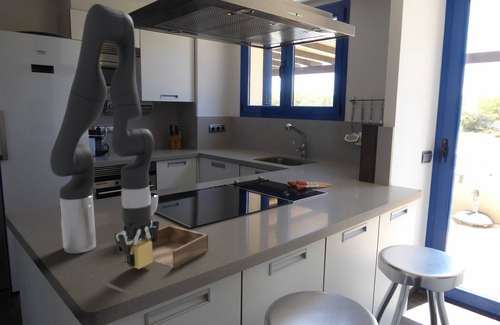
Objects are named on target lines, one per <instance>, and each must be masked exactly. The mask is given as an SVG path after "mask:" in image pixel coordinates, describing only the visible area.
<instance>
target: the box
mask: <svg viewBox="0 0 500 325" xmlns="http://www.w3.org/2000/svg"><path fill="white" fill-rule="evenodd" d="M152 237H153V235H152ZM207 251H209V234H207V233H204V232H199V231H195V230H191V229H186V228H182V227H179V226H175V225H170V224H168V225H166V226H163V227H159V228H158V235H157V241H156V242H153V243H152V252H153V262H154V263H159V264H162V265H164V266H168V267H170V268H173V269H177V268H179V267H180V266H182V265H184V264H186V263H188V262H189V261H191V260H192V259H194V258H196V257H199V256H200V255H202V254H204V253H206V252H207Z"/></svg>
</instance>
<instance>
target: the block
mask: <svg viewBox="0 0 500 325" xmlns="http://www.w3.org/2000/svg"><path fill="white" fill-rule="evenodd" d="M131 241H132V242H133V240H131ZM130 247H131V245H129V248H130ZM134 256H135V266H134V267H133V269H134V268H135V269H137V270H140V269H142V268H144V267H145V266H148V265H150V264H151V263H152V264H153V262H154V261H153V252H152V242H151V241H146V240H144V239H143V240H142V239H139V240H138V243H137V245H136V246H135V247H134ZM125 264H126V265H127V263H126V262H125ZM127 266H128V265H127Z"/></svg>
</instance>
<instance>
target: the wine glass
mask: <svg viewBox="0 0 500 325" xmlns="http://www.w3.org/2000/svg"><path fill="white" fill-rule="evenodd" d="M150 195H151V217H152V216H153V215H154V213H156V211H157V208H158V202H159V194H158V192H156V191H150Z"/></svg>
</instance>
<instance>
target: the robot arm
mask: <svg viewBox="0 0 500 325" xmlns="http://www.w3.org/2000/svg"><path fill="white" fill-rule="evenodd" d="M134 25H135V24H134V21H133V19H132V17H131V16H130V14H129V13H127V12H125V11H123V10H120V9H117V8H113V7H110V6H108V5H104V4H101V3H94V4H93V5H91V6H90V8H89V9H88V11H87V13H86V17H85V20H84V24H83V31H82V38H81V45H80V52H79V55H78V56H79V57H78V62H77V65H76V69H75V74H74V78H73V80H72V83H71V84H72V85H71V86H70V87H71V88H70V92H69V93H68V94H69V95H68V99H67V103H66V109H65V112H64V115H63V118H62V119H63V120H62V121H61V122H62V123H61V125H60V129H59V131H58V134H57V137H56V139H55V142H54V145H53V147H52V150H51V153H50V158H49V164H50V165H49V166H50V169H51V172H52V174H54V175H55V176H57V177H60V178H61V177H63V178H64V177H65V178H66V177H71V179H70V180H69V181H68V182H67V183H66V184H64V185H63V186H62V187H60V189H59V203H60V204H59V205H60V212H61V219H60V225H61V226H60V227H61V238H62V249H63V251H64V252H65V253H68V254H81V253H86V252H89V251H92V250H94V249H95V248H96V247H97V239H96V225H95V224H96V223H95V209H94V198H93V197H94V195H93V189H94V186H95V161H94V155H93V152H92V150H91V149H90V147H89V146H88V145H86V144H83V143H82V144H81V143H79V142H80V140H81V138H82V137H83V135H84V134H85V133H86V132H87V131H88V130H89V129H90V128H91V127H92V126H93V124H94V123H95V122H97V120H98V119H99V117H100V116H101V114H102V112H103V110H104V106H105V103H106V100H107V96H108V88H107V83H106V80H105V79H106V78H105V76H104V74H103V71H102V68H101V55H102V48H103V46H104V44H106V45H110V46H114V47H115V49H116V52H117V66H116V68H115V71H114V74H113V75H112V78H111V82H110V85H109V94H110V95H109V96H110V101H111V106H112V112H113V125H112V135H111V147H112V148H111V149H112V150H113V151H114V153H115V155H117V156H118V157H121V158H126V157H135V156H136V157H135V159H134V161H133V162H130V163H129V164H125V165H123V167H121V169H120V182H121V184H120V185H121V193H120V195H121V196H120V199H121V215H122V216H121V217H122V222H123V225H124V226H123V228H122V231H120V232H116V233H114V234H113V236H114V237H113V238H114V241H115V244H116V247H117V251H118V253H119V254H123V255H125V261H126V262H125V264H126V263H127V266H128V267H130V268H134V266H135V256H134V247H135V246H136V245H137V243H138V240H139V239H142V240H143V239H144V240H146V241H151V242H152V243H153V242H156V241H157V235H158V229H160V227H159V226H160V221H158V220H154V219H152V216H151V195H150V192H151V188H150V177H149V176H150V174H149V172H150V166H151V160H152V158H153V157H152V156H153V154H154V153H153V152H154V149H155V139H154V136H153V134H152V131H150V130H149V129H148V128H130V129H129V128H128V123H131V122H134V121H137V120H139V119H141V117H142V113H143V112H142V106H141V102H140V96H139V91H138V86H137V76H136V74H137V73H136V72H137V71H136V68H137V67H136V36H135V34H136V32H135V26H134ZM152 235H153V237H152ZM132 241H133V242H132ZM129 245H131V247H130V248H129Z"/></svg>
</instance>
